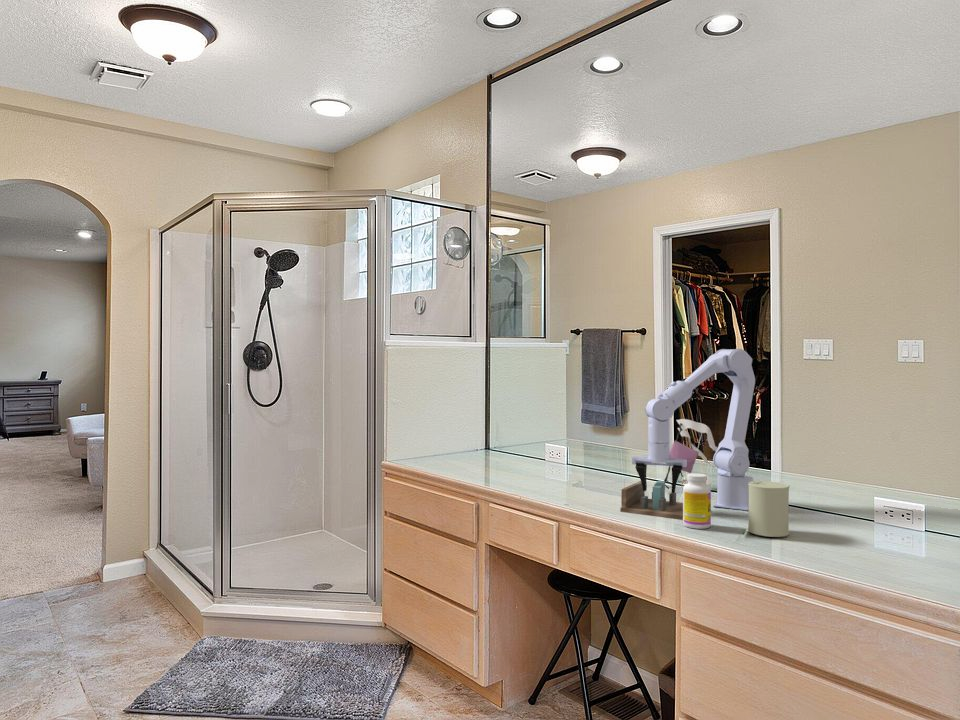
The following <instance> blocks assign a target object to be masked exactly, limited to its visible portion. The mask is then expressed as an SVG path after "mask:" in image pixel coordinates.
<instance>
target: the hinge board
mask: <svg viewBox="0 0 960 720" xmlns="http://www.w3.org/2000/svg"><path fill="white" fill-rule="evenodd" d="M645 492H646V491H643V487H642V483H641V480H639V481H637V482H635V483H633V484H630V485H628V486H626V487H623V488H622V489H621V501H620V503H621V507H620V509H619V510H620V512H622V513H630V514H631V513H632V514H636V515H637V514H638V515H645V516H651V517H661V518H667V519H677V520H682V521H683V502H679V501H677V492H675V493H672V492H670V493H669V497H668V498H669V499H668V500H667V498H666V497H665V498H661V499H659V510H656V509H653V491H652V492H651V498H649V496H648V495H645Z"/></svg>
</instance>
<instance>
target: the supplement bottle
mask: <svg viewBox="0 0 960 720" xmlns="http://www.w3.org/2000/svg"><path fill="white" fill-rule="evenodd" d="M686 476H687V477H686V480H687V479H688V484H686V483H685V484H683V485H684V487H683V486H682V503H683V520H682V524H683V526H685V527H687V528H688V529H689V528H690V529H694V530H695V529H697V530H706V529H709V528H711V525H712V523H711V521H712V518H711V517H712V489H711V487H710V486H709V485H707V480H708V475H707V474H704V473H696V472H695V473H692V472H691V473H690V474H689V473H687V475H686Z"/></svg>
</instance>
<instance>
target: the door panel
mask: <svg viewBox="0 0 960 720" xmlns="http://www.w3.org/2000/svg"><path fill="white" fill-rule="evenodd" d="M665 485H666V483H665V481H664V480H656V482H655V483H654V485H653V486H652V492H653V509H656V510H659V499H661V498H666V488H665Z"/></svg>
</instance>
